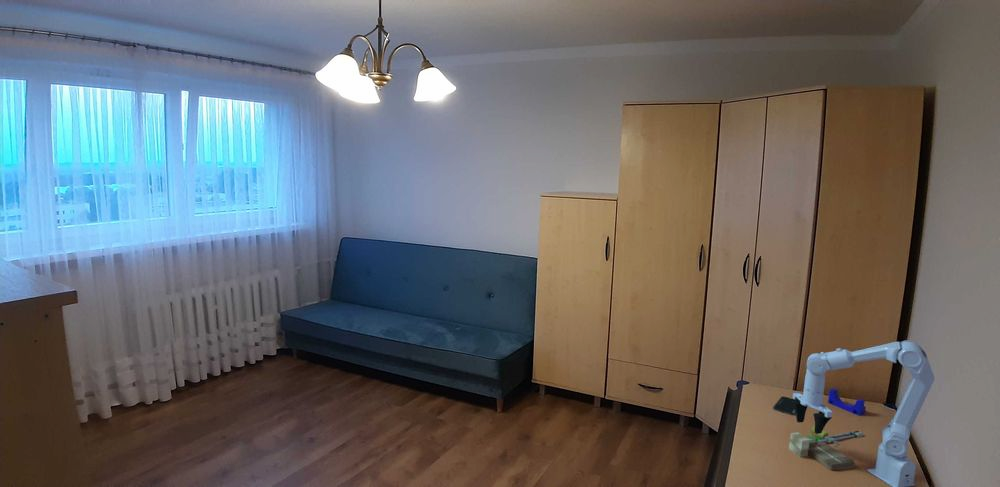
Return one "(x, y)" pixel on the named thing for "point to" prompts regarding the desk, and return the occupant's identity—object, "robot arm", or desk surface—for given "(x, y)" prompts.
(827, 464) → the brown flat block
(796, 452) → the joiner mallet
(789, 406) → the phone
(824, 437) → the flamethrower
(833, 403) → the blue u-shaped bracket
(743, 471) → the desk surface
